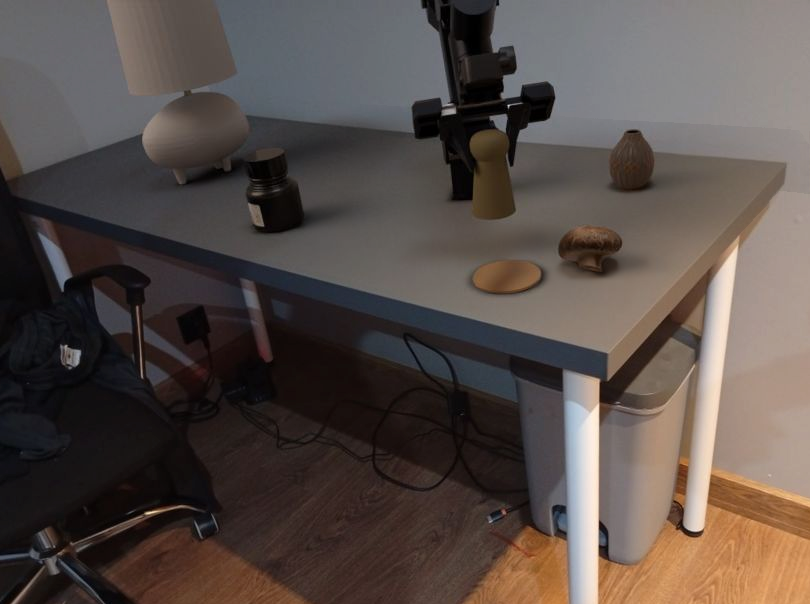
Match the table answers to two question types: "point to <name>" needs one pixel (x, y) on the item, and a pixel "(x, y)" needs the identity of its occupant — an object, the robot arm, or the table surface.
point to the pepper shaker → (491, 176)
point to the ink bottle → (272, 191)
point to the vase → (631, 161)
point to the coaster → (507, 276)
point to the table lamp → (181, 80)
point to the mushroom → (589, 246)
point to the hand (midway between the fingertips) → (492, 168)
